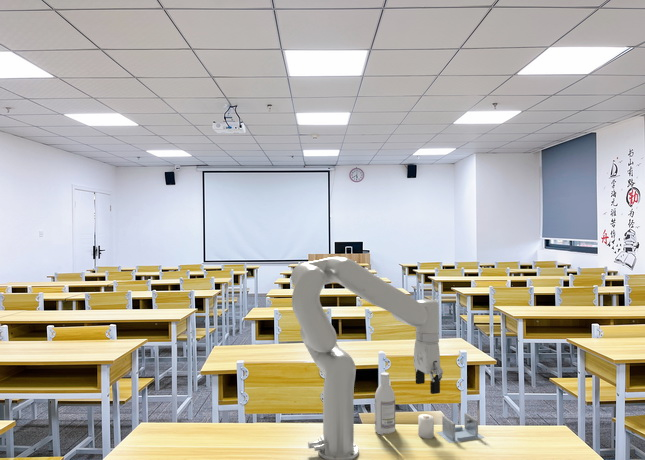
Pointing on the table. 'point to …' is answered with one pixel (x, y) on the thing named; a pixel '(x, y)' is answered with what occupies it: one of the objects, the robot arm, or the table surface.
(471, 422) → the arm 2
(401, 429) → the table surface
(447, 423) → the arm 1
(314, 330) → the robot arm
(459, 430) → the holder
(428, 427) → the roll
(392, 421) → the bath foam
